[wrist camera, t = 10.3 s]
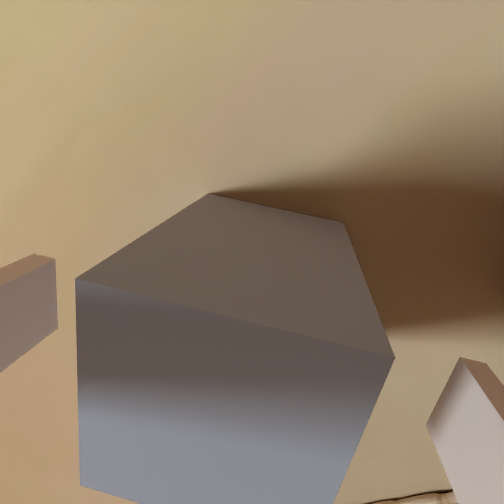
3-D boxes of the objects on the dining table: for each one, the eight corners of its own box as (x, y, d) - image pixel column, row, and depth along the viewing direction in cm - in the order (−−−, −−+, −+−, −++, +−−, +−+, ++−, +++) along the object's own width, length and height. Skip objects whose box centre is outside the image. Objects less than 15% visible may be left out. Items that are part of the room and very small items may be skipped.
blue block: (208, 193, 15) (75, 278, 6) (343, 222, 14) (395, 357, 6) (193, 308, 17) (80, 485, 8) (309, 337, 16) (310, 555, 8)
